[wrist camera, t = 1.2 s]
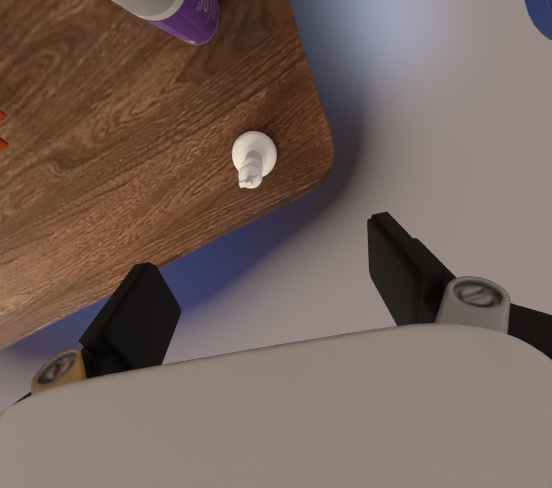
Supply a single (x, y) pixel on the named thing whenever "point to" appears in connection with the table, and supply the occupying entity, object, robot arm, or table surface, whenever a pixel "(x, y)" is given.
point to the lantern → (3, 144)
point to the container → (178, 17)
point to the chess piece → (253, 157)
